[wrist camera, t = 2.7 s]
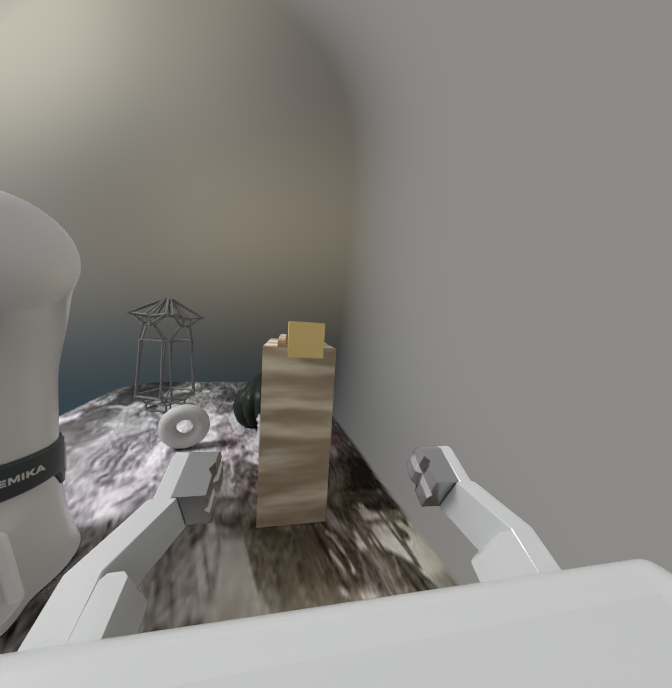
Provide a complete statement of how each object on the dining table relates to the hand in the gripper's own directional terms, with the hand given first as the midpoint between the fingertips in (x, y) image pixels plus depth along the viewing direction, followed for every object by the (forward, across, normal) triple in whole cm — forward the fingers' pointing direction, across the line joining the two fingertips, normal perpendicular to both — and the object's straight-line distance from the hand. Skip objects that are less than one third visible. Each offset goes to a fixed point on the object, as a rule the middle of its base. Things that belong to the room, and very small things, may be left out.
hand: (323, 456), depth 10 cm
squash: (+44, -8, -50) cm, 67 cm away
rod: (+26, 0, -11) cm, 28 cm away
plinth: (+18, 0, -36) cm, 40 cm away
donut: (+32, -23, -44) cm, 59 cm away
